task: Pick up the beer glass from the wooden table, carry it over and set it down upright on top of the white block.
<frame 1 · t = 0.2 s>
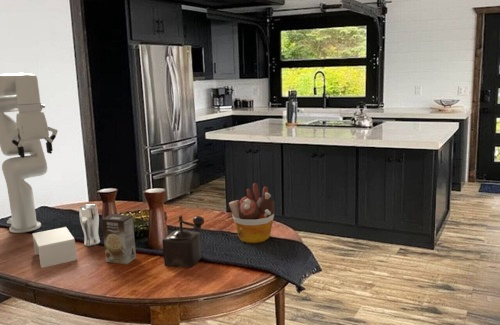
hand: (36, 155, 180), 37 cm above the table, tool pointing down, fingers open, 9 cm apart
bucket of meat: (254, 238, 190), on the table
manual coffee grinder: (189, 262, 170), on the table
white block: (55, 256, 180), on the table
beer glass: (92, 243, 192), on the table
coffee box: (121, 260, 174), on the table
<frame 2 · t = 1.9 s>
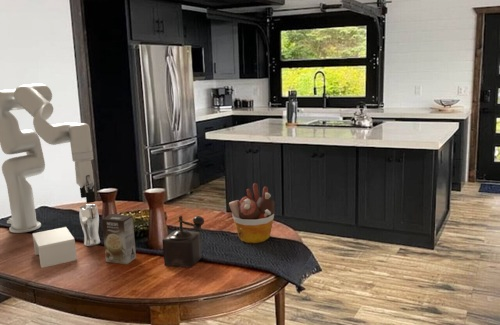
hand: (88, 199, 188), 18 cm above the table, tool pointing down, fingers open, 9 cm apart
nothing on the table moved.
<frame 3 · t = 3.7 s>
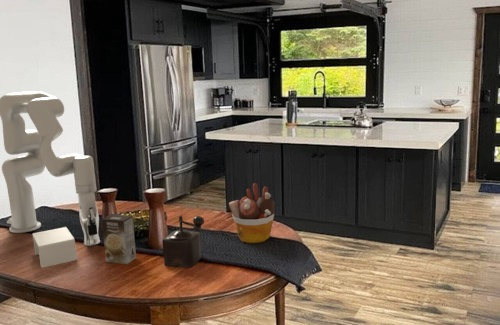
hand: (90, 231, 191), 5 cm above the table, tool pointing down, fingers closed on beer glass, 6 cm apart
beer glass: (92, 243, 192), on the table, touching gripper
everything else where it was.
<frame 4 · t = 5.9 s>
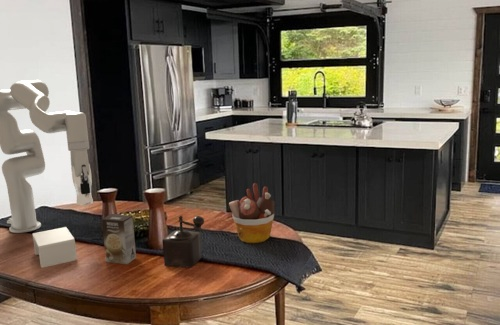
hand: (83, 191, 187), 21 cm above the table, tool pointing down, fingers closed on beer glass, 6 cm apart
beer glass: (84, 203, 188), point 17 cm above the table, touching gripper
everything else where it was.
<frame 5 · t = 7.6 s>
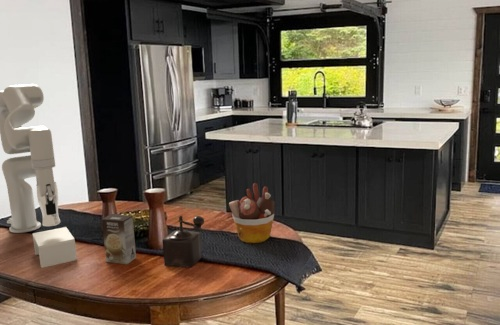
hand: (49, 211, 176), 17 cm above the table, tool pointing down, fingers closed on beer glass, 6 cm apart
beer glass: (51, 224, 177), point 13 cm above the table, touching gripper
everything else where it was.
when the fingers open (14 cm above the table, at t = 8.7 s): beer glass drops 1 cm, resting on white block.
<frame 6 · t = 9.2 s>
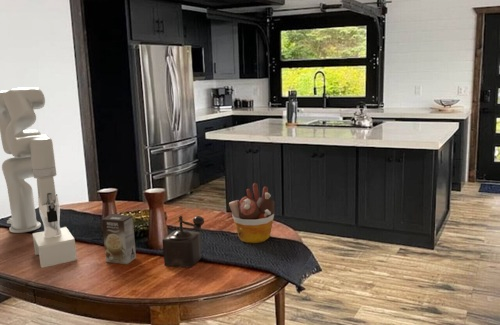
hand: (50, 218, 177), 15 cm above the table, tool pointing down, fingers open, 9 cm apart
beer glass: (53, 236, 179), point 8 cm above the table, touching white block
everything else where it was.
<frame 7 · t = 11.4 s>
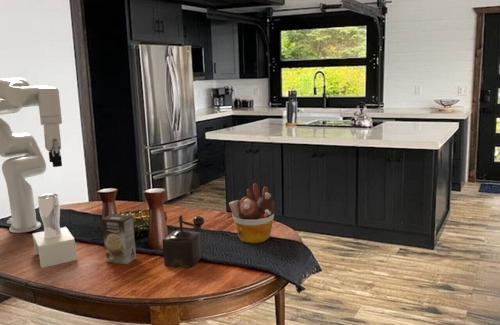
hand: (55, 164, 189), 32 cm above the table, tool pointing down, fingers open, 9 cm apart
nothing on the table moved.
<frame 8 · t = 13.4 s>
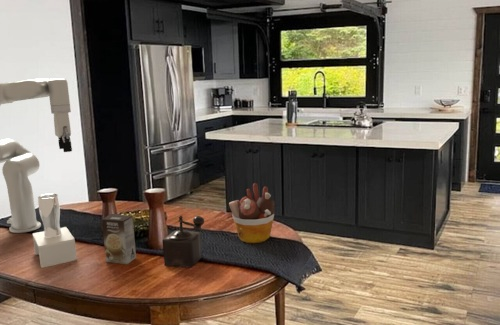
hand: (65, 150, 204), 34 cm above the table, tool pointing down, fingers open, 9 cm apart
nothing on the table moved.
at the end: beer glass inside the target area on the white block (0.6 cm from its centre), point 7.8 cm above the white block's base; beer glass tilted 0°; the gripper is holding nothing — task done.
